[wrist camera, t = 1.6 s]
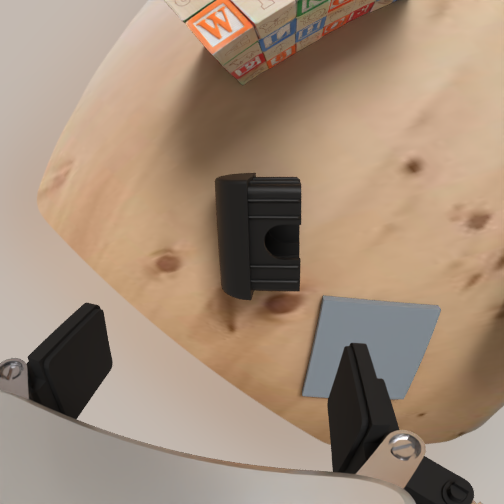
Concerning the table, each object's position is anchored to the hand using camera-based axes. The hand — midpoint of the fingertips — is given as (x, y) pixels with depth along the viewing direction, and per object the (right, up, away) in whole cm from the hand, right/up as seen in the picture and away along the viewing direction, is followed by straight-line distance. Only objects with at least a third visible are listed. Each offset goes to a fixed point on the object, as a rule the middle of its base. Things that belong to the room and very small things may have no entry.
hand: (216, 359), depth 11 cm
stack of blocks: (+7, +27, +12) cm, 31 cm away
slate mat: (+15, -8, +24) cm, 29 cm away
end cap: (+2, +7, +20) cm, 22 cm away
